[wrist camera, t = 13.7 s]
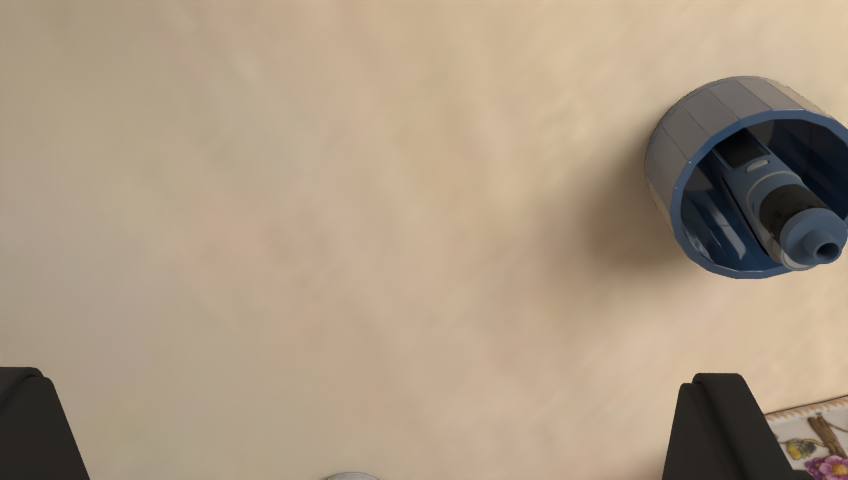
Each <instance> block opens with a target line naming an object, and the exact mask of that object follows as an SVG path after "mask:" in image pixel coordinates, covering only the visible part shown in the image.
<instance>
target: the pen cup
mask: <svg viewBox="0 0 848 480" xmlns="http://www.w3.org/2000/svg"><path fill="white" fill-rule="evenodd" d="M745 127H746V128H747V129H748V130H749V131H750V132H751V133H752V134H753V135H754V136H755V137H756V138H757V139H759V140H760V141H761V142H762V143H763V144H764V145H765V146H766V147H767V148H768V149H769V150H770V151H773V153H774V154H775V155H776V156H777V157H778V158H779V159H780V160H781V161H782V162H783V163H784V164H785V165H786V166H787V167H788V168H789V169H791V170H792V171H793V172H794V173H795V174H797V175H798V176H799V177H800V178H801V180H802V182H803V184H804V185H806V186H807V187H808V188H809V189H810V190H811V191H812V192H813V193H814V194H815V195H816V196H817V197H818V198H819V199H820V200H822V201H823V202H824V203H825V204H826V205H827V206H828V207H829V208H830V209H831V210H832V211H833V212H834V213H835V214H836V215H837V216H838V217H840V218H841V219H842V220H843V222H844V223H845V224H846V226H847V230H848V129H847V128H846V127H844V126H843V125H842V124H841V123H839V122H838V121H837V120H836V119H834V118H833V117H832V116H830V115H829V114H827V113H826V112H824V111H823V110H821V109H820V108H818V107H817V106H816V105H814V104H813V103H811V102H810V101H808V100H807V99H805V98H804V97H802V96H801V95H800V94H798V93H797V92H795V91H794V90H792V89H791V88H789V87H787V86H784V85H783V84H781V83H779V82H776V81H773V80H770V79H767V78H761V77H754V76H740V77H731V78H726V79H721V80H718V81H715V82H712V83H709V84H707V85H705V86H702V87H700V88H698V89H696V90H695V91H693V92H691V93H690V94H688V95H687V96H685V97H684V98H683V99H681V100H680V101H679V102H678V103H677V104H675V105H674V106H673V107H672V108H671V109H670V110H669V111H668V113H667V114H666V115H665V116H664V117H663V119H662V120H661V121H660V123H659V124H658V126H657V128H656V129H655V131H654V133H653V135H652V137H651V140H650V143H649V145H648V148H647V153H646V158H645V175H646V181H647V185H648V188H649V190H650V193H651V196H652V198H653V200H654V202H655V204H656V205H657V207H658V209H659V211H660V212H661V214H662V216H663V218H664V220H665V221H666V223H667V225H668V227H669V228H670V230H671V232H672V234H673V236H674V237H675V239H676V240H677V242H678V243H679V245H680V246H681V248H682V249H683V251H684V252H685V254H686V255H687V256H688V257H689V258H690V259H691V260H693V261H694V262H696V263H697V264H698V265H700V266H701V267H703V268H704V269H706V270H707V271H709V272H712V273H716V274H719V275H723V276H726V277H730V278H735V279H762V278H768V277H772V276H776V275H780V274H784V273H788V272H791V271H793V270H790V269H788V268H786V267H785V266H784V265H783V264H780V263H777V262H775V261H774V260H773V259H771V257H769V256H767V255H765V253H764V252H763V251H762V249H761V248H760V247H759V246H758V244H757V243H756V242H755V240H754V239H753V238H752V236H751V235H750V234H749V233H748V231H747V230H746V229H745V227H744V226H743V225H742V223H741V222H740V221H739V220H738V218H737V217H736V216H735V214H734V213H733V212H732V210H731V209H730V208H729V207H728V205H727V204H726V203H725V200H724V196H723V195H722V193H721V192H720V190H719V188H718V185H717V183H716V181H715V179H714V177H713V174H712V172H711V170H710V168H709V165H708V163H707V161H706V159H705V157H704V156H705V155H706V154H707V153H708V152H709V151H710V150H711V149H712V148H713V147H714V146H715V145H716V144H717V143H719V142H721V141H722V140H724V139H726V138H727V137H729V136H731V135H732V134H734V133H735V132H737V131H739V130H740V129H742V128H745ZM815 201H816V200H815ZM817 201H818V200H817ZM822 201H820V202H822ZM818 202H819V201H818ZM820 205H821V204H820ZM823 205H824V204H823ZM823 207H824V206H823Z"/></svg>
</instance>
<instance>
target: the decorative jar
mask: <svg viewBox="0 0 848 480" xmlns="http://www.w3.org/2000/svg"><path fill="white" fill-rule="evenodd" d="M764 417H765V419H766V420H767V422H768V424H769V426H770V428H771V430H772V431H773V433H774V435H775V437H776V439H777V441H778V443H779V444H780V446H781V448H782V450H783V452H784V454H785V455H786V457H787V459H788V461H789V463H790V465H791V466H792V468H793V470H804V471H807V472H808V473H809V474H811V475H812V476H813V477H814V478H815V480H848V396H846V397H842V398H838V399H834V400H831V401H827V402H823V403H819V404H811V405H807V406H803V407H798V408H794V409H789V410H785V411H780V412H777V413H772V414H768V415H765V416H764Z"/></svg>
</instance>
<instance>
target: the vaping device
mask: <svg viewBox="0 0 848 480" xmlns="http://www.w3.org/2000/svg"><path fill="white" fill-rule="evenodd" d="M704 157H705V159H706V161H707V163H708V165H709V168H710V170H711V172H712V174H713V177H714V179H715V181H716V183H717V185H718V188H719V190H720V192H721V193H722V195H723V196H724V200H725V203H726V204H727V205H728V207H729V208H730V209H731V210H732V212H733V213H734V214H735V216H736V217H737V218H738V220H739V221H740V222H741V223H742V225H743V226H744V227H745V229H746V230H747V231H748V233H749V234H750V235H751V236H752V238H753V239H754V240H755V242H756V243H757V244H758V246H759V247H760V248H761V249H762V251H763V252H764V253H765V255H767V256H769V257H771V259H773V260H774V261H775V262H777V263H780V264H783V265H784V266H785V267H786V268H788V269H790V270H793V271H804V270H808V269H811V268H813V267H815V266H816V265H818V264H828V263H831V262H833V261H835V260H836V259H838V257H839V256H840V255H841V253H842V249H843V247H844V246H845V244H846V241H847V237H848V230H847V226H846V224H845V223H844V222H843V220H842V219H841V218H840V217H838V216H837V215H836V214H835V213H834V212H833V211H832V210H831V209H830V208H829V207H828V206H827V205H826V204H825V203H824V202H823V201H822V200H820V199H819V198H818V197H817V196H816V195H815V194H814V193H813V192H812V191H811V190H810V189H809V188H808V187H807V186H806V185H804V184H803V182H802V180H801V178H800V177H799V176H798V175H797V174H795V173H794V172H793V171H792V170H791V169H789V168H788V167H787V166H786V165H785V164H784V163H783V162H782V161H781V160H780V159H779V158H778V157H777V156H776V155H775V154H774V153H773V151H770V150H769V149H768V148H767V147H766V146H765V145H764V144H763V143H762V142H761V141H760V140H759V139H757V138H756V137H755V136H754V135H753V134H752V133H751V132H750V131H749V130H748V129H747V128H746V127H745V128H742V129H740V130H739V131H737V132H735V133H734V134H732V135H731V136H729V137H727V138H726V139H724V140H722V141H721V142H719V143H717V144H716V145H715V146H714V147H713V148H712V149H711V150H710V151H709V152H708V153H707V154H706V155H705V156H704ZM815 200H816V201H815ZM817 200H818V201H819V202H818V201H817ZM820 201H822V202H820ZM820 204H821V205H820ZM823 204H824V205H823ZM823 206H824V207H823Z"/></svg>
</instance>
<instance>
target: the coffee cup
mask: <svg viewBox="0 0 848 480" xmlns="http://www.w3.org/2000/svg"><path fill="white" fill-rule="evenodd" d="M327 480H378V479H376V478H374V477H372V476H369V475H367V474H362V473H342V474H337V475H335V476H332V477H330V478H329V479H327Z"/></svg>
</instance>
